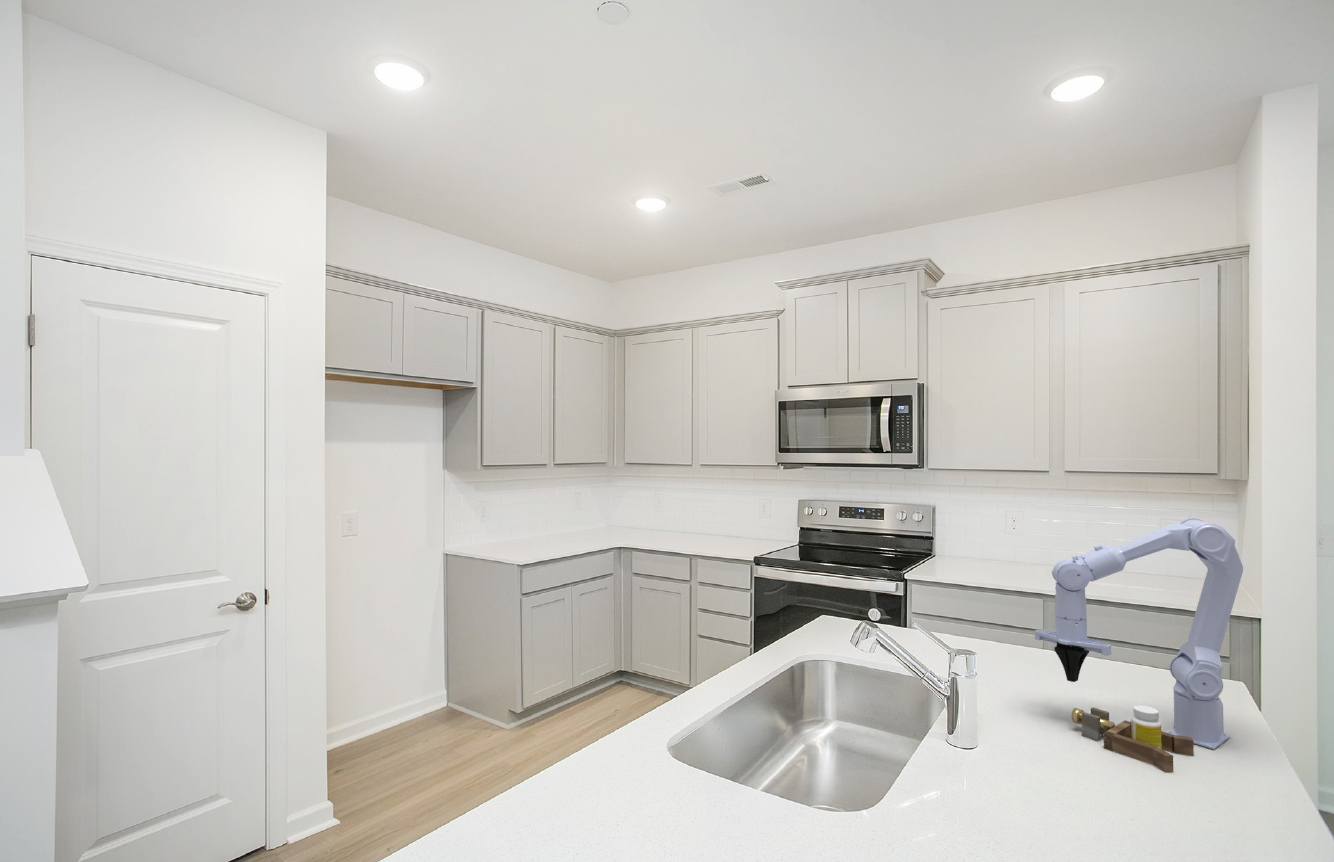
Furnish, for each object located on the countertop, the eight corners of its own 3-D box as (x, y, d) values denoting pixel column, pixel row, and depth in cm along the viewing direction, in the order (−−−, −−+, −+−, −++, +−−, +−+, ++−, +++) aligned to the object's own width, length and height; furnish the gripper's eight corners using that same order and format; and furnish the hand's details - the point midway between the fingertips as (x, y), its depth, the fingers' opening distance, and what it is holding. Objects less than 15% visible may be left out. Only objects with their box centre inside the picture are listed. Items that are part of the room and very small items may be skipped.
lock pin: (1078, 720, 141) (1078, 706, 141) (1116, 732, 135) (1116, 717, 135) (1071, 724, 139) (1071, 709, 139) (1110, 736, 133) (1109, 721, 133)
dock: (1101, 724, 142) (1101, 703, 142) (1196, 754, 128) (1195, 730, 128) (1073, 741, 134) (1072, 718, 134) (1170, 774, 121) (1170, 748, 121)
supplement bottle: (1167, 758, 127) (1167, 714, 127) (1142, 758, 127) (1141, 714, 127) (1151, 747, 131) (1150, 704, 131) (1126, 746, 132) (1125, 704, 132)
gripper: (1027, 613, 147) (1028, 675, 147) (1099, 627, 135) (1101, 695, 135) (1043, 608, 151) (1044, 668, 151) (1114, 621, 139) (1116, 687, 139)
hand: (1072, 680), depth 143 cm, fingers closed
